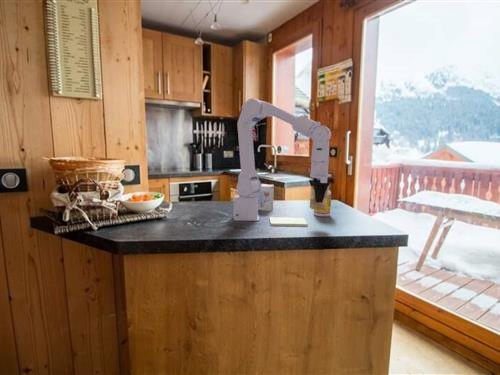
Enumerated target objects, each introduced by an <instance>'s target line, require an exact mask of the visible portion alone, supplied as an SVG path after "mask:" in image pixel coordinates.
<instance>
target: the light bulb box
mask: <svg viewBox="0 0 500 375" xmlns="http://www.w3.org/2000/svg"><path fill="white" fill-rule="evenodd" d="M274 186H275V184H267V183H261V188H260V190H259V191H258V211H267V212H270V211H272V210H273V209H274V197H275V196H274V189H275V187H274Z"/></svg>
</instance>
